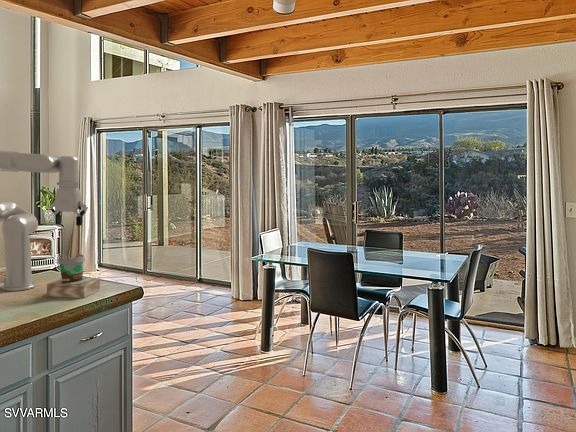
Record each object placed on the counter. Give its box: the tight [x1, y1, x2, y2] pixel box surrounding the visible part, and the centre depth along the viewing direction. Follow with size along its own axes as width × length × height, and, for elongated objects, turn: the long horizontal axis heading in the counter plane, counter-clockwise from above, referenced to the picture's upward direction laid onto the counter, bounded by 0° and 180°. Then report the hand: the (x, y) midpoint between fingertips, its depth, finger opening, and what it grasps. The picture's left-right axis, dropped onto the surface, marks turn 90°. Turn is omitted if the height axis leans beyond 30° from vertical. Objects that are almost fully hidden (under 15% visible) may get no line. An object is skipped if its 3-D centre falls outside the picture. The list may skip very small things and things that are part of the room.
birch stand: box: [46, 277, 101, 299], centre depth 192 cm, size 16×12×5 cm
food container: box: [58, 253, 86, 283], centre depth 191 cm, size 12×6×10 cm, turn 169°
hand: (68, 224), depth 200 cm, fingers open, 9 cm apart
